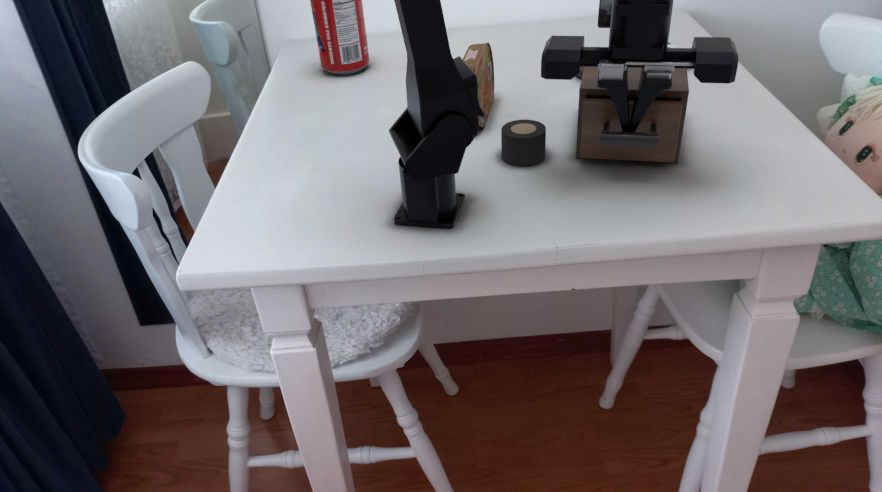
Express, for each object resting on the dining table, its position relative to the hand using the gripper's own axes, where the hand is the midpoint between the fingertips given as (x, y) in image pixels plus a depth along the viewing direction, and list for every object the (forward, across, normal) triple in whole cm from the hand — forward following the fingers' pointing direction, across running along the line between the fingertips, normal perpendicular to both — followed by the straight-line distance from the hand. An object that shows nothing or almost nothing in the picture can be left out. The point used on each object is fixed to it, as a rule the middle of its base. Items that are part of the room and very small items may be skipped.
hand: (628, 136), depth 76 cm
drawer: (+4, 0, -6) cm, 7 cm away
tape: (+5, +12, -4) cm, 13 cm away
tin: (+5, +20, -16) cm, 26 cm away
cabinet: (+5, 0, -10) cm, 12 cm away
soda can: (+5, +45, -32) cm, 55 cm away
